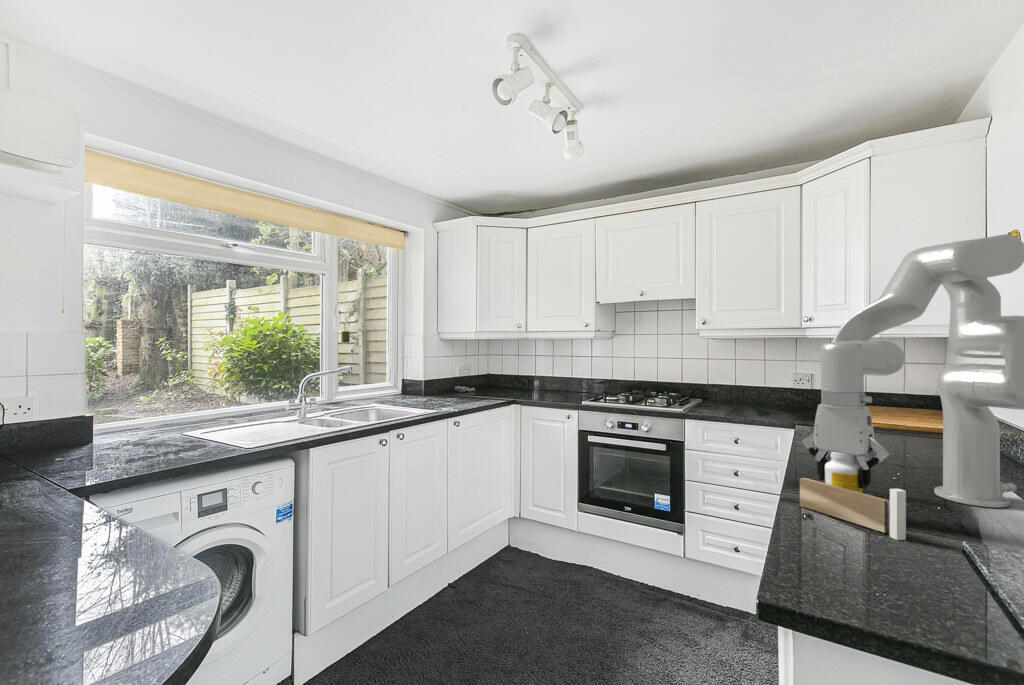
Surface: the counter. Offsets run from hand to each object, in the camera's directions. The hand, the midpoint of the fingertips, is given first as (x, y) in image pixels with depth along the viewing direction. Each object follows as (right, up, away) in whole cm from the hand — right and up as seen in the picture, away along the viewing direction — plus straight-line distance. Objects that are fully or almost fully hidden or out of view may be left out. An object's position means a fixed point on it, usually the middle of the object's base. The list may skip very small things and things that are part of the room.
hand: (843, 482), depth 101 cm
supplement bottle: (0, -6, 0) cm, 6 cm away
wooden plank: (-3, -6, -4) cm, 8 cm away
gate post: (+1, -7, -13) cm, 15 cm away
